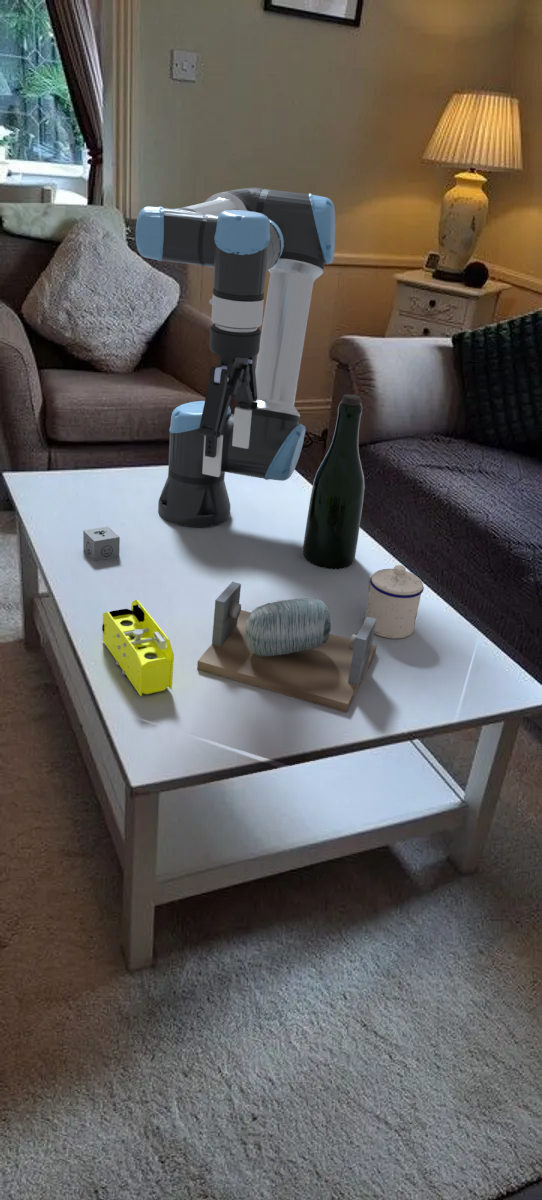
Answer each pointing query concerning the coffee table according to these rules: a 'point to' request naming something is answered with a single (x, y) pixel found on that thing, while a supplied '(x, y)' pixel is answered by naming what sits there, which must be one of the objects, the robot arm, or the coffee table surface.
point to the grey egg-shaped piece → (288, 627)
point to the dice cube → (101, 543)
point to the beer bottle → (337, 495)
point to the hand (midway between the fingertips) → (226, 460)
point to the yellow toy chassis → (139, 648)
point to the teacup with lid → (394, 601)
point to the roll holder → (288, 659)
